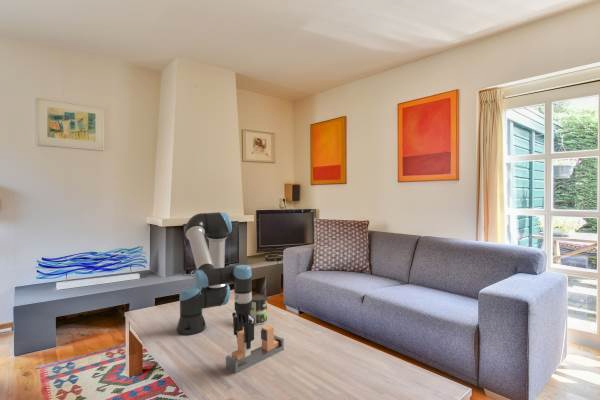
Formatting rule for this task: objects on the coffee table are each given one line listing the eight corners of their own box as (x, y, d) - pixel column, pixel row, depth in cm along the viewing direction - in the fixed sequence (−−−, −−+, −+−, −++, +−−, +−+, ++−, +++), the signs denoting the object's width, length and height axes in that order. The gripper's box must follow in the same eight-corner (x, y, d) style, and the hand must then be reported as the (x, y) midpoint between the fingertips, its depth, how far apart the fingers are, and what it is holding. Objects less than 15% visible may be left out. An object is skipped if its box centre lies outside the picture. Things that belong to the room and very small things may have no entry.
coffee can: (269, 318, 198) (269, 295, 197) (264, 325, 188) (263, 300, 187) (253, 317, 200) (252, 294, 199) (247, 324, 190) (246, 299, 189)
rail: (226, 367, 144) (225, 356, 143) (273, 344, 164) (273, 334, 164) (235, 373, 139) (235, 361, 139) (283, 349, 159) (283, 339, 159)
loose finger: (232, 357, 144) (231, 334, 144) (246, 350, 150) (246, 328, 149) (237, 360, 141) (237, 336, 141) (252, 353, 147) (251, 331, 147)
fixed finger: (260, 349, 156) (260, 328, 156) (272, 343, 162) (272, 323, 161) (266, 351, 153) (265, 330, 153) (278, 345, 159) (278, 325, 158)
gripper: (224, 299, 149) (225, 350, 149) (248, 307, 137) (249, 363, 138) (238, 295, 154) (239, 344, 155) (262, 303, 142) (263, 357, 143)
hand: (244, 353), depth 146 cm, fingers closed on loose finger, 4 cm apart
